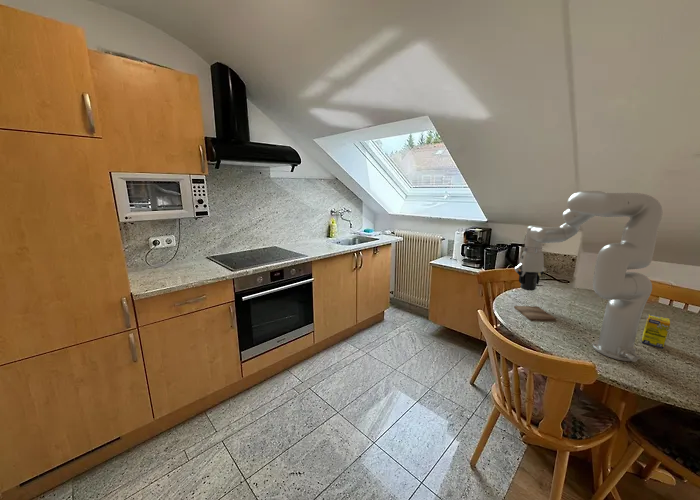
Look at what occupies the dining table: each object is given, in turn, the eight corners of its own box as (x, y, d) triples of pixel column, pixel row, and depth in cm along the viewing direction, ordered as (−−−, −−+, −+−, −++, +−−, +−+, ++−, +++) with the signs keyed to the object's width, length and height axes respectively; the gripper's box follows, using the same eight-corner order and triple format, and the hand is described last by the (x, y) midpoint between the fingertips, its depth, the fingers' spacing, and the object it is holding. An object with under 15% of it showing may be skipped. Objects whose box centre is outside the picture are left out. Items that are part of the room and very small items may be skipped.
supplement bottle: (531, 286, 151) (534, 265, 148) (538, 291, 144) (541, 268, 142) (517, 286, 151) (520, 264, 149) (524, 290, 145) (527, 268, 142)
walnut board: (555, 320, 132) (556, 318, 131) (529, 320, 132) (530, 318, 132) (537, 308, 145) (538, 306, 145) (514, 307, 146) (514, 305, 146)
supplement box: (641, 343, 113) (648, 318, 111) (641, 337, 117) (648, 313, 115) (663, 349, 109) (670, 323, 107) (662, 343, 113) (669, 318, 111)
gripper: (519, 251, 140) (515, 285, 144) (555, 251, 140) (550, 285, 143) (511, 248, 148) (507, 280, 151) (545, 248, 147) (541, 281, 150)
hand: (528, 282), depth 147 cm, fingers closed on supplement bottle, 6 cm apart
